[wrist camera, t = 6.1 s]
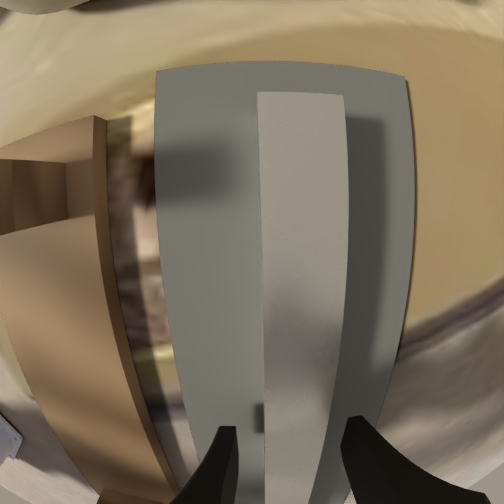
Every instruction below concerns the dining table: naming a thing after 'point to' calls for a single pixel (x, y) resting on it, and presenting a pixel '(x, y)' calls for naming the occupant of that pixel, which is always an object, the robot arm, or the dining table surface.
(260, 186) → the steel bar
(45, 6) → the teacup
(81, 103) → the dining table surface
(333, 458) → the mat
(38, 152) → the hook stands
